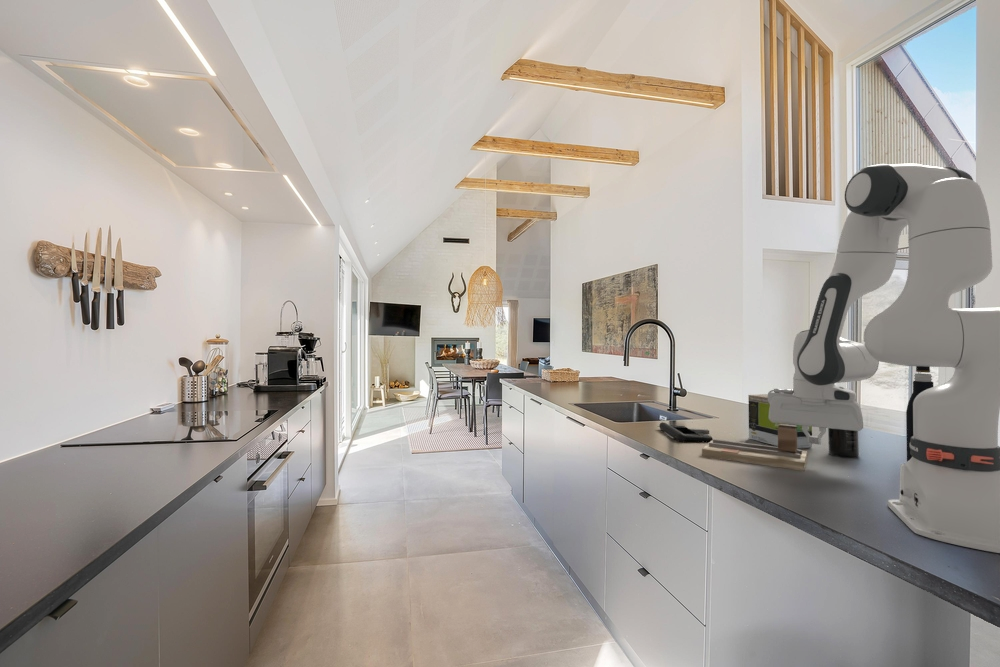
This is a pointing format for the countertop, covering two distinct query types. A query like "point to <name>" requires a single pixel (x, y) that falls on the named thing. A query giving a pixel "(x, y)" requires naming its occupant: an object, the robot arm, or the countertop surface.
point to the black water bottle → (919, 386)
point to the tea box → (769, 423)
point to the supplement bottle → (843, 443)
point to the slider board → (755, 454)
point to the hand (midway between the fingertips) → (813, 443)
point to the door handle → (685, 433)
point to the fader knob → (787, 438)
